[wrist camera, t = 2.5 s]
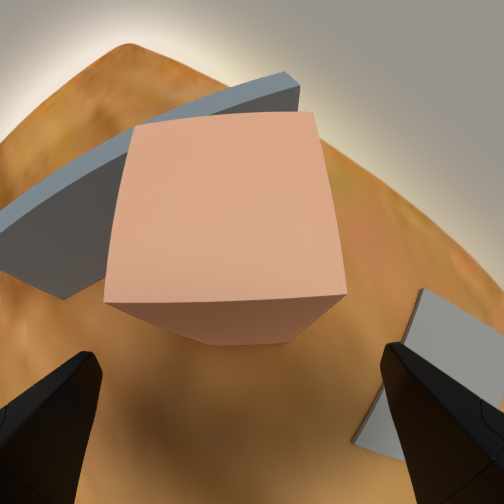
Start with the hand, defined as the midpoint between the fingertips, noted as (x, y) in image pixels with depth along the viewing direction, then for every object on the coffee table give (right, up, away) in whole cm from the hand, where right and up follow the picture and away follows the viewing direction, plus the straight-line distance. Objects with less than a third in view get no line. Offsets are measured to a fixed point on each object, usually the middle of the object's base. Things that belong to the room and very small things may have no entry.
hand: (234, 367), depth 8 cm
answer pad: (+15, -7, +8) cm, 19 cm away
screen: (-6, +4, +14) cm, 16 cm away
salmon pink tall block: (0, 0, +12) cm, 12 cm away
